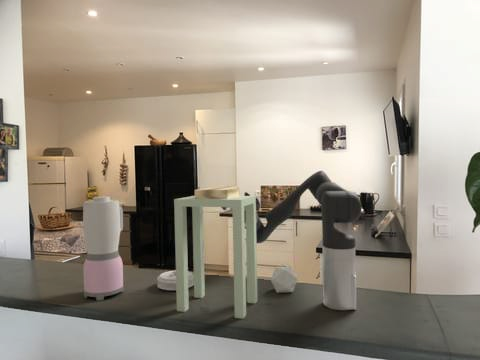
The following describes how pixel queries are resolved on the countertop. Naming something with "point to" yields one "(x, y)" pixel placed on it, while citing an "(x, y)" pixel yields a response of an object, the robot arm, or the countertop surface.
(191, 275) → the lid
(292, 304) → the countertop surface
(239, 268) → the mint green side table
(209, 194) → the cheese board
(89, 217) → the blender
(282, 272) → the die
